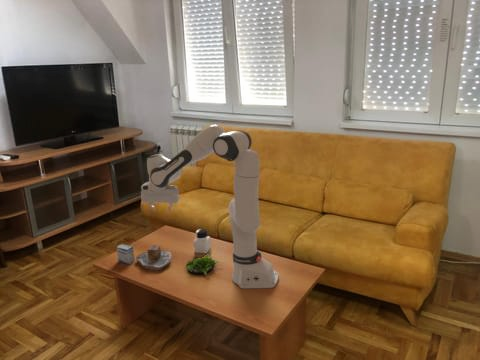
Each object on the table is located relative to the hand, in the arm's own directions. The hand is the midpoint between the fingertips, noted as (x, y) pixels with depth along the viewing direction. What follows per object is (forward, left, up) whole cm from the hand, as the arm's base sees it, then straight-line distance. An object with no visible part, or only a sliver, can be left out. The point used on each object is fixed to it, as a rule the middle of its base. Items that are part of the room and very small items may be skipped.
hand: (161, 209), depth 217 cm
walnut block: (+4, +7, -25) cm, 26 cm away
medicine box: (+20, +9, -27) cm, 35 cm away
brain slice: (+4, +7, -28) cm, 29 cm away
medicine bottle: (-17, -9, -27) cm, 34 cm away
